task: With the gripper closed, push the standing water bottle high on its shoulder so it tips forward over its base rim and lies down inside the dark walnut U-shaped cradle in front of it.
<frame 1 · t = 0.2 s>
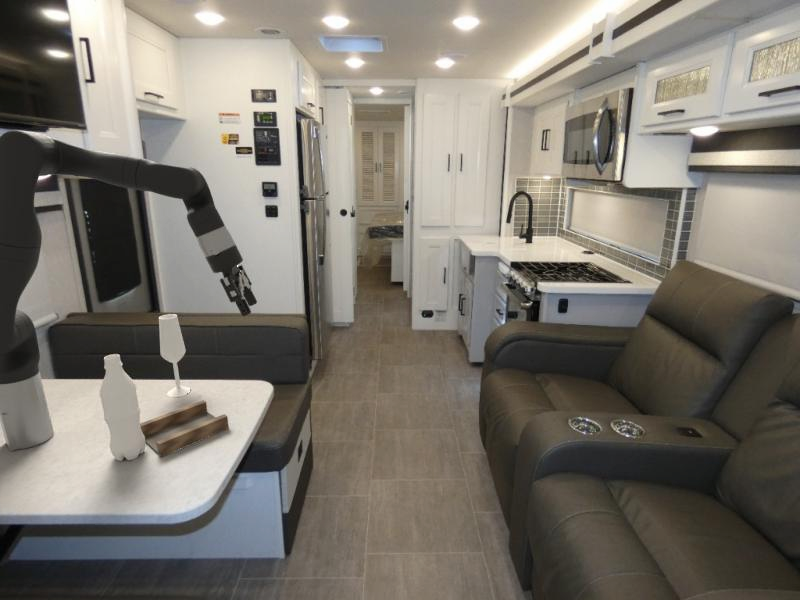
hand: (250, 309, 116), 31 cm above the table, tool tilted 20°, fingers open, 8 cm apart
champagne flute: (179, 392, 142), on the table
water bottle: (130, 455, 111), on the table
walnut cradle: (184, 432, 120), on the table
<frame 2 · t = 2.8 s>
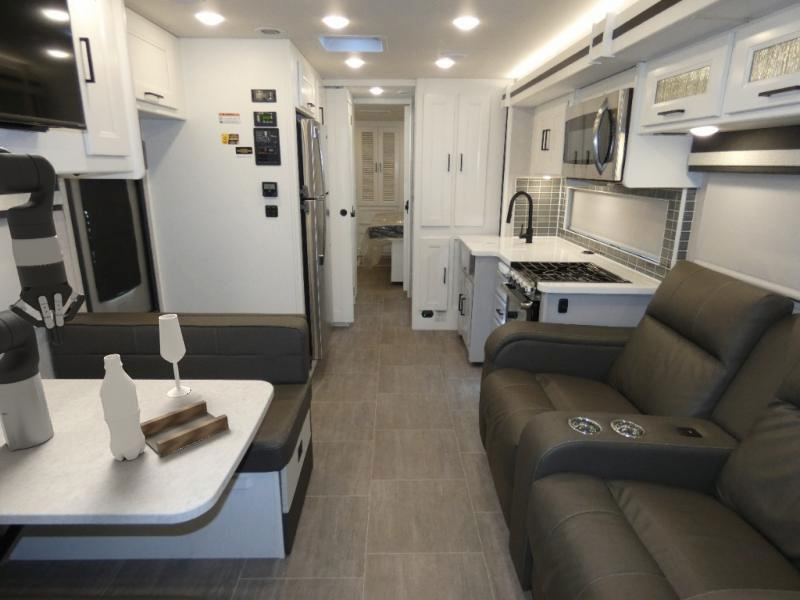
hand: (58, 343, 96), 31 cm above the table, tool pointing down, fingers closed
nothing on the table moved.
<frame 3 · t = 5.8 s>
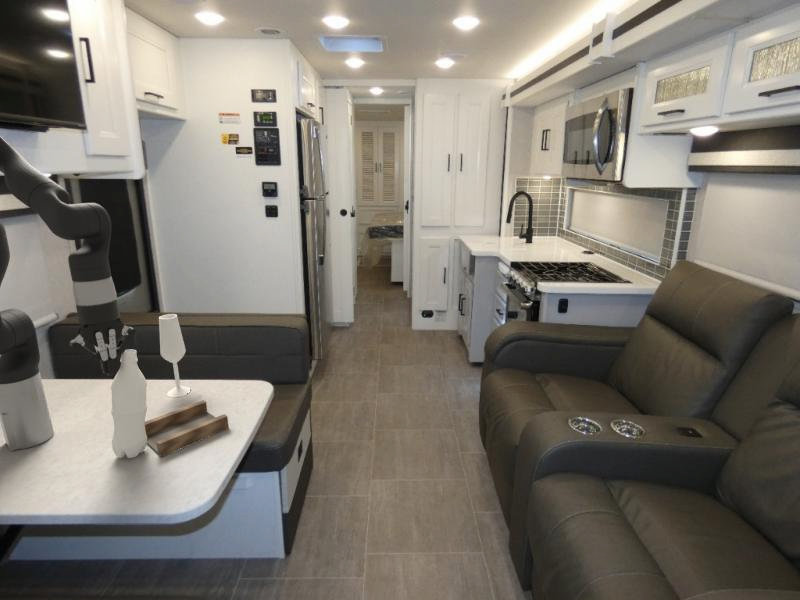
hand: (110, 373, 105), 21 cm above the table, tool pointing down, fingers closed
water bottle: (130, 454, 111), on the table, touching gripper
everything else where it was.
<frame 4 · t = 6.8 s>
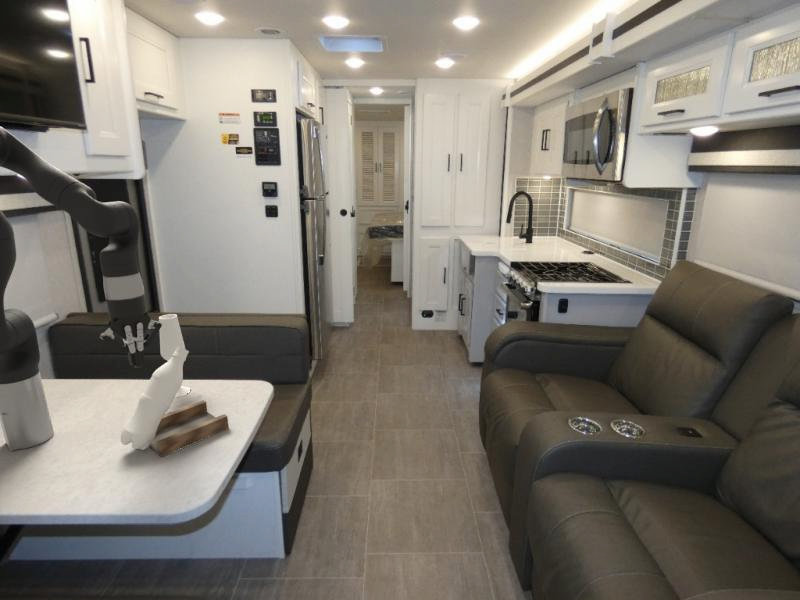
hand: (137, 366, 109), 21 cm above the table, tool pointing down, fingers closed
water bottle: (131, 446, 111), point 2 cm above the table
everything else where it was.
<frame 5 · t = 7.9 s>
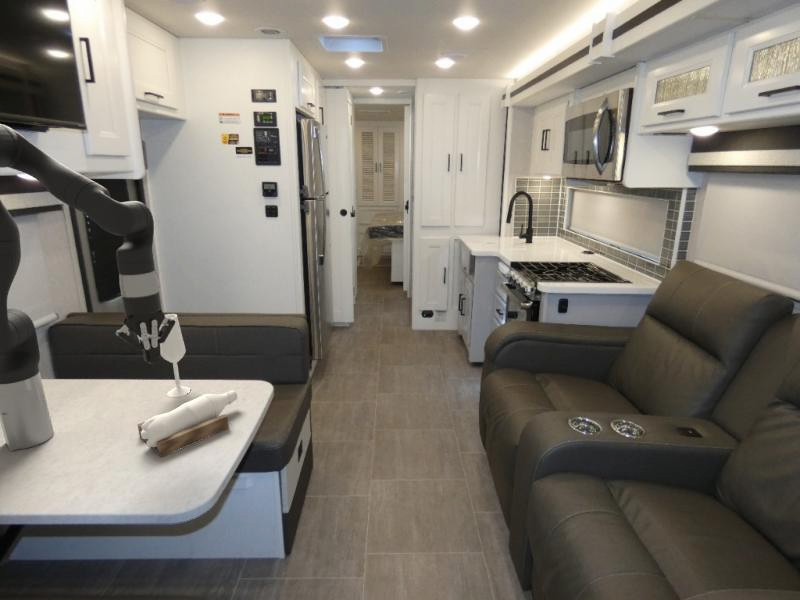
hand: (151, 362, 111), 21 cm above the table, tool pointing down, fingers closed
water bottle: (145, 436, 111), point 4 cm above the table, touching walnut cradle
everything else where it was.
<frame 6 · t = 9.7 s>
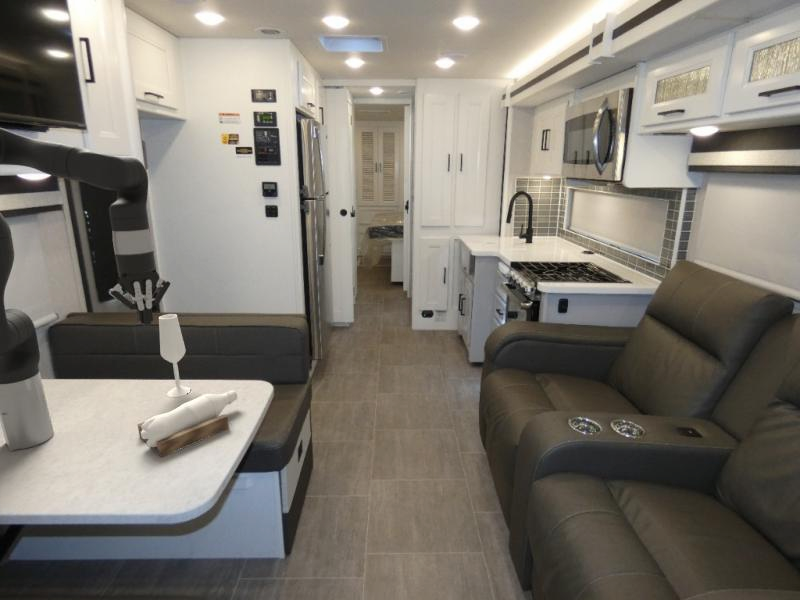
hand: (146, 324, 108), 30 cm above the table, tool pointing down, fingers closed
nothing on the table moved.
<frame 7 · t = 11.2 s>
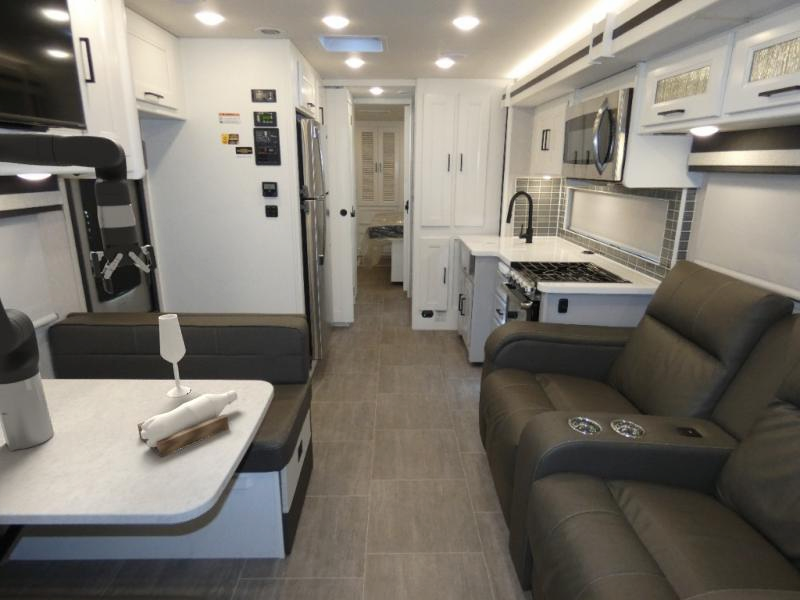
hand: (128, 289, 117), 36 cm above the table, tool pointing down, fingers open, 8 cm apart
nothing on the table moved.
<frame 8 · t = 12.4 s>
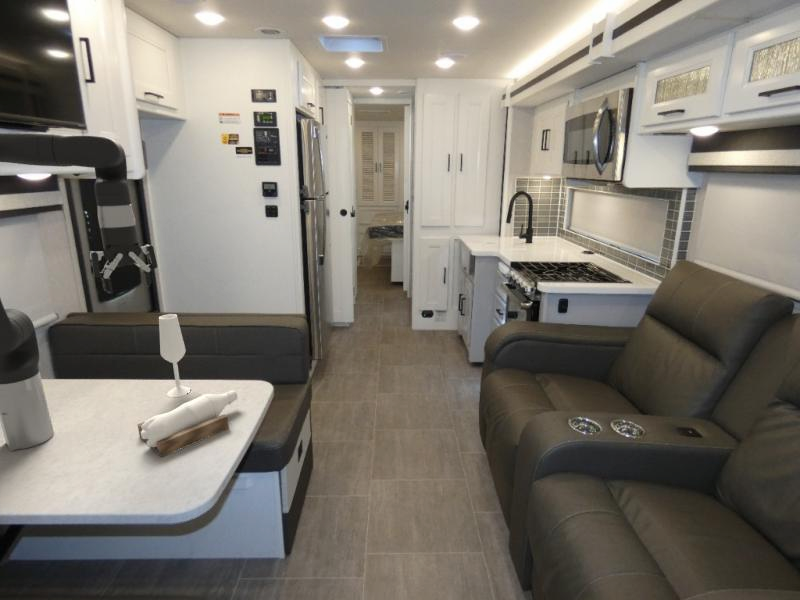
hand: (128, 289, 117), 36 cm above the table, tool pointing down, fingers open, 8 cm apart
nothing on the table moved.
at the end: water bottle tilted 90°; water bottle inside the target area on the walnut cradle (3.8 cm from its centre), point 4.1 cm above the walnut cradle's base; water bottle touching walnut cradle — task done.
